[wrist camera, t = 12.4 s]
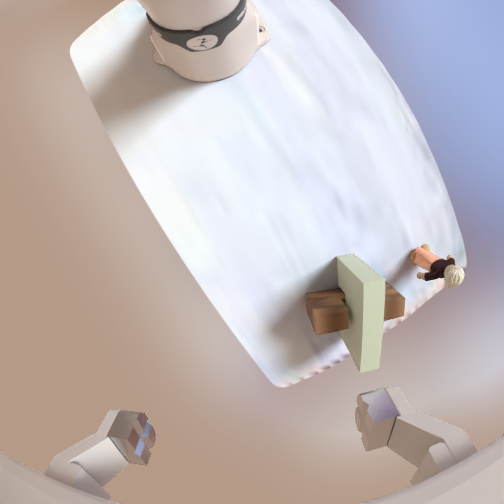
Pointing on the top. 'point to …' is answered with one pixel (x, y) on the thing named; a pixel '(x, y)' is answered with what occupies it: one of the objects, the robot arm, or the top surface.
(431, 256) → the grandmother figurine
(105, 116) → the top surface
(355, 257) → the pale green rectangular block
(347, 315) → the wooden u-shaped block
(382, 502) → the robot arm
